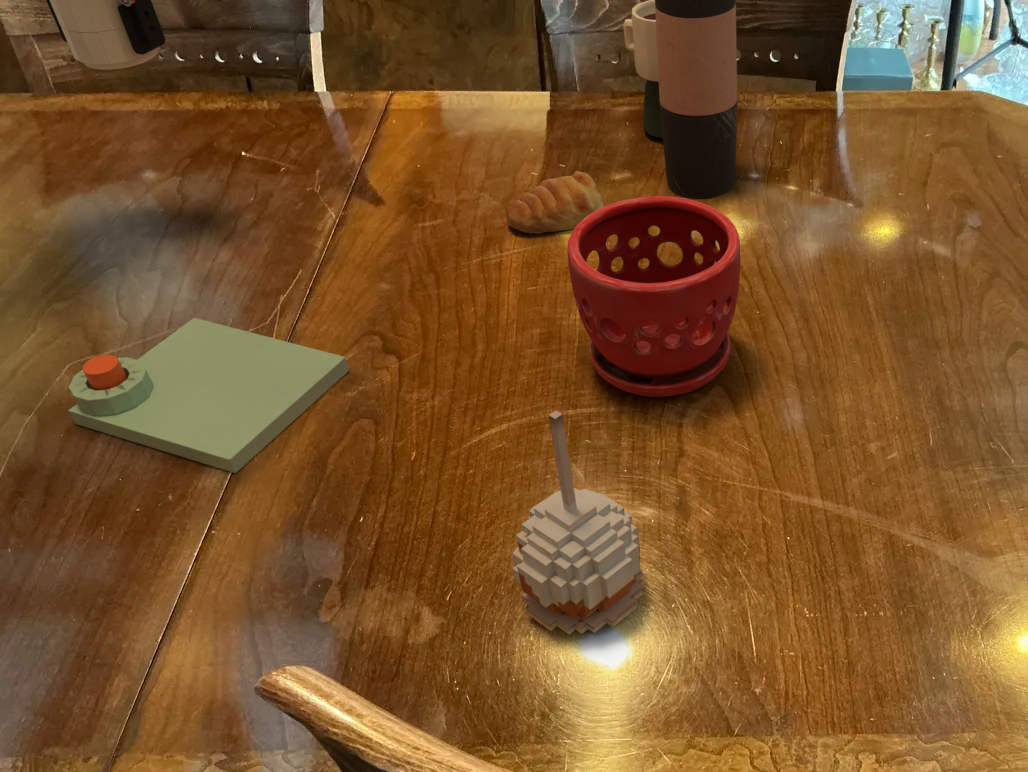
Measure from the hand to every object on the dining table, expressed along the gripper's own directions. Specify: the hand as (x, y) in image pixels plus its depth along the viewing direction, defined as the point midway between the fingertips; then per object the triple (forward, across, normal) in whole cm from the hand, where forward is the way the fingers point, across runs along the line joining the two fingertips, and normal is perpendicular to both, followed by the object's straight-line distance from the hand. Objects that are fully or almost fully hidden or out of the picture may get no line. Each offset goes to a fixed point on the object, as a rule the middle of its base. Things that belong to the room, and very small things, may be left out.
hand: (115, 41), depth 95 cm
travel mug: (+18, -45, -26) cm, 55 cm away
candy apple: (+18, -60, +31) cm, 69 cm away
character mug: (+18, -37, -36) cm, 55 cm away
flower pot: (+18, -54, +5) cm, 57 cm away
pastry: (+18, -35, -14) cm, 41 cm away
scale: (+18, -22, +22) cm, 36 cm away
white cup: (+1, 0, 0) cm, 1 cm away
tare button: (+15, -16, +26) cm, 34 cm away
